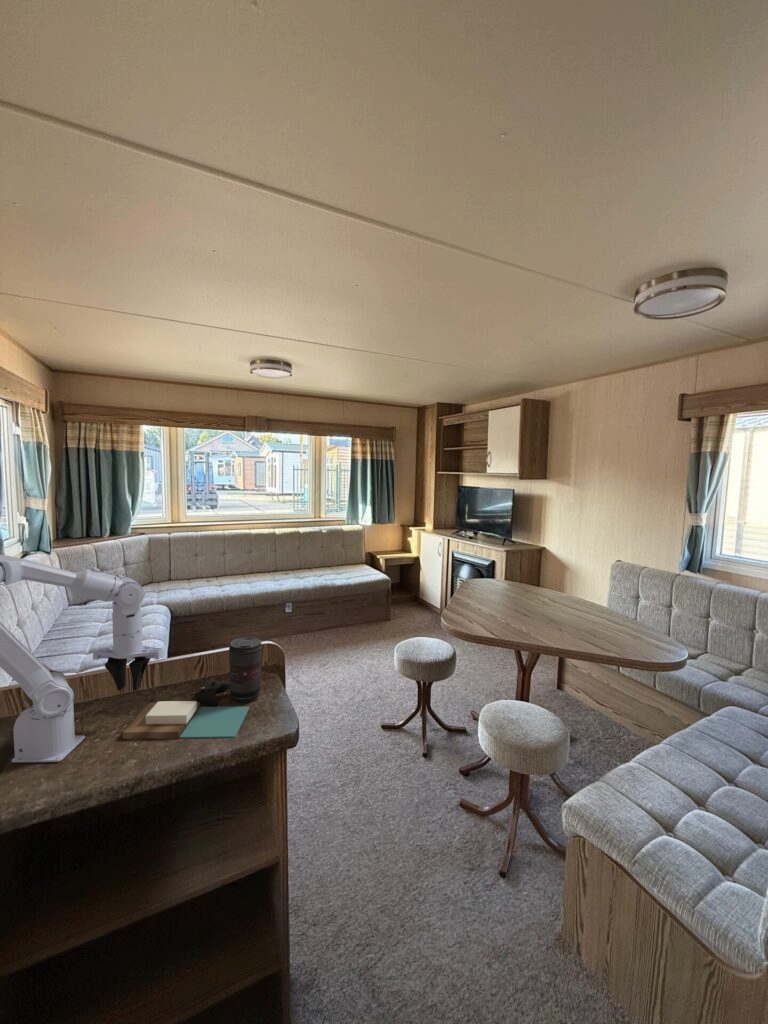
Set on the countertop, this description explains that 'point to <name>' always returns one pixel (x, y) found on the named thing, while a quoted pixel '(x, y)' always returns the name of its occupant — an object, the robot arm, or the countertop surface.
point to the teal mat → (215, 722)
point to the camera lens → (245, 669)
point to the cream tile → (171, 712)
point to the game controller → (211, 692)
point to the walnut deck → (153, 727)
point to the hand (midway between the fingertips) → (129, 688)
